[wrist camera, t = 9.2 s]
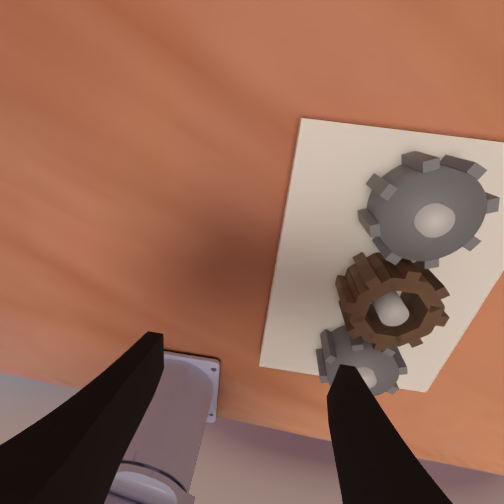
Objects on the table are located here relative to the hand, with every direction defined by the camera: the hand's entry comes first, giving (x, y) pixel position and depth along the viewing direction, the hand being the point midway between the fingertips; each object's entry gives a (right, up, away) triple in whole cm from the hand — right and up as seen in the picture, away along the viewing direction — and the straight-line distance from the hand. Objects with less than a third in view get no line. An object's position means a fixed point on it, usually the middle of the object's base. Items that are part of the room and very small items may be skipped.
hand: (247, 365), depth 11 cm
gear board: (+9, +3, +9) cm, 13 cm away
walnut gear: (+9, +2, +7) cm, 12 cm away
